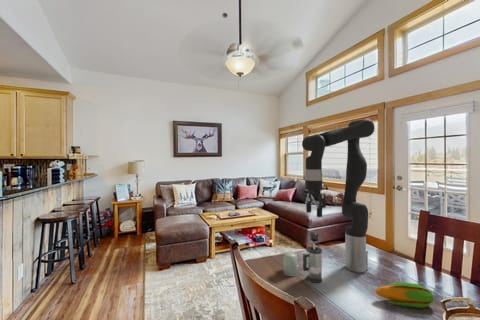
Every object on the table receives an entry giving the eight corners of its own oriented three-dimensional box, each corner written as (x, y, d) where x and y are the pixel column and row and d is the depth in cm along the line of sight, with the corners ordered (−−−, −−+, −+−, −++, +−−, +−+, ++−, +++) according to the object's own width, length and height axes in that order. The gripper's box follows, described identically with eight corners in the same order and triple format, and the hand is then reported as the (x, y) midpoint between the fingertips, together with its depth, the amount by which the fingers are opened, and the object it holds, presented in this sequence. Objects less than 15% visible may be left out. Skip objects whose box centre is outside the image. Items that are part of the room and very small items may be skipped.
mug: (291, 267, 112) (291, 249, 112) (299, 275, 105) (299, 256, 105) (279, 269, 111) (279, 251, 111) (287, 277, 103) (287, 258, 103)
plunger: (315, 260, 103) (315, 231, 103) (320, 264, 100) (319, 234, 100) (308, 261, 103) (308, 232, 102) (312, 265, 99) (312, 234, 99)
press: (316, 274, 105) (316, 245, 105) (325, 282, 99) (325, 251, 99) (300, 277, 103) (300, 247, 103) (307, 285, 97) (307, 253, 97)
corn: (440, 291, 79) (379, 285, 83) (441, 313, 79) (380, 307, 82) (426, 281, 87) (371, 276, 90) (427, 301, 86) (371, 296, 89)
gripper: (330, 180, 95) (330, 217, 95) (312, 177, 109) (312, 210, 109) (315, 180, 93) (315, 219, 93) (298, 178, 107) (298, 211, 107)
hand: (313, 214), depth 101 cm, fingers open, 8 cm apart
